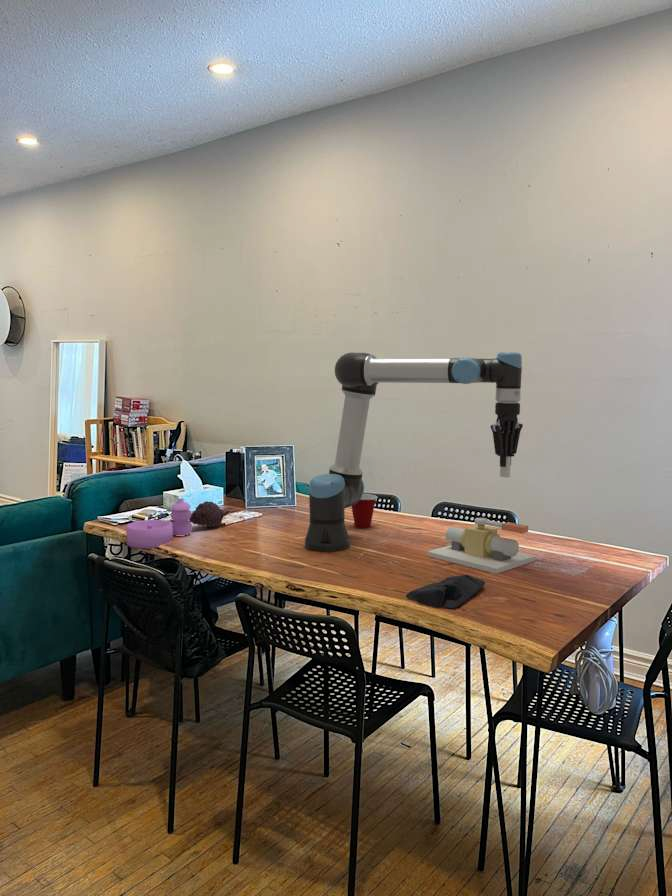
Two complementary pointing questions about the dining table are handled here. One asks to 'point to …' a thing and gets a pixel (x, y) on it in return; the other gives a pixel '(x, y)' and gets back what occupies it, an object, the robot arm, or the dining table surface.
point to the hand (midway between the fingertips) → (504, 476)
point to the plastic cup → (364, 511)
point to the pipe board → (482, 562)
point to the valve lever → (503, 525)
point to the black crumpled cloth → (447, 592)
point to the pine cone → (208, 514)
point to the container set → (160, 528)
